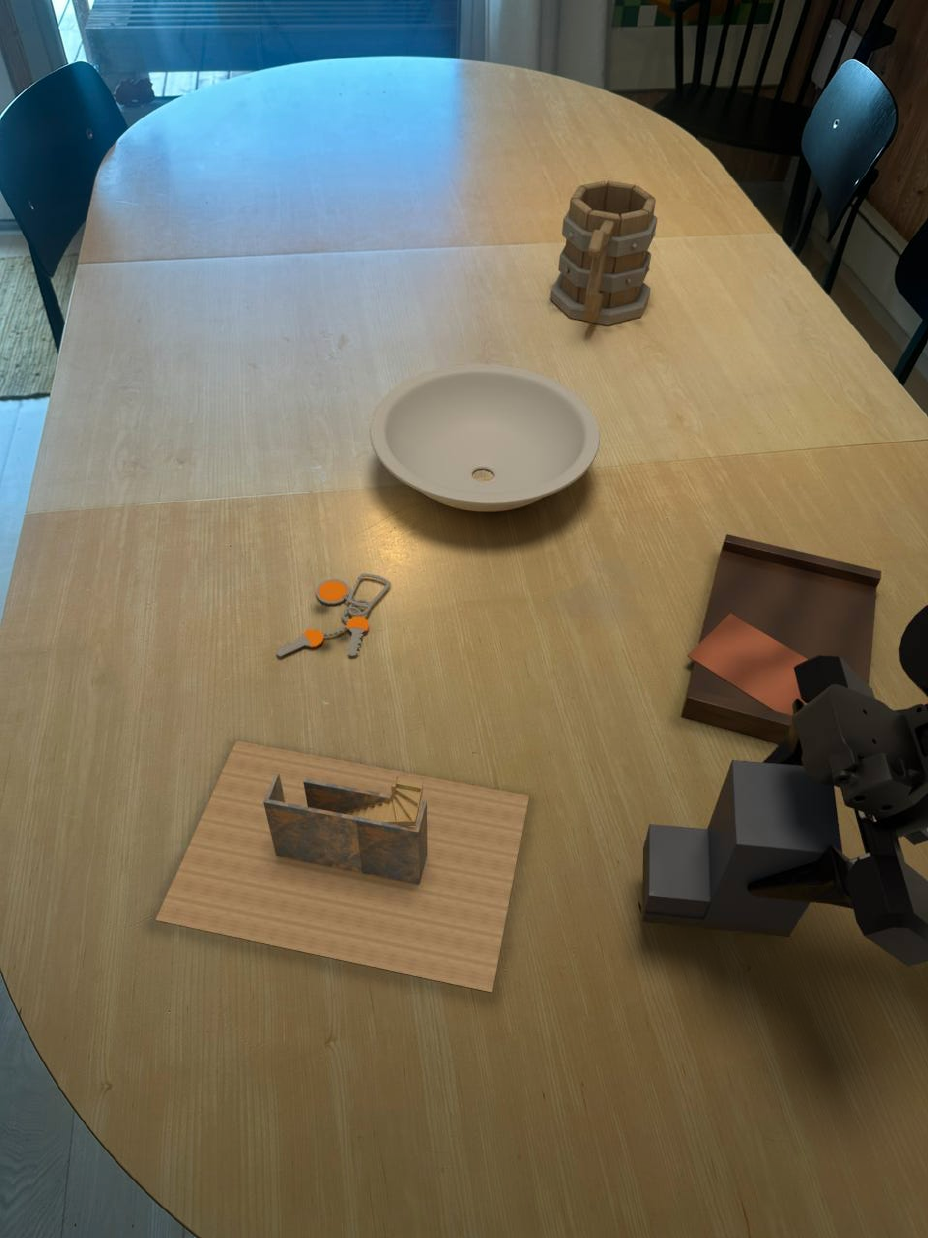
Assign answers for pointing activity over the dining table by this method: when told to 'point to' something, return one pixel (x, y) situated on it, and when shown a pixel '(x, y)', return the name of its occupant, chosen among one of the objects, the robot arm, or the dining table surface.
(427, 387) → the white vessel sink
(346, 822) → the architectural model on board
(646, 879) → the charcoal gray box
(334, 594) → the key chain
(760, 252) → the dining table surface
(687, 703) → the brown serving tray
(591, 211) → the tankard
